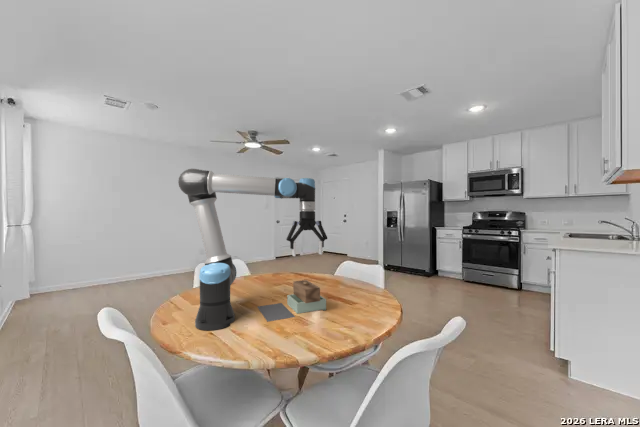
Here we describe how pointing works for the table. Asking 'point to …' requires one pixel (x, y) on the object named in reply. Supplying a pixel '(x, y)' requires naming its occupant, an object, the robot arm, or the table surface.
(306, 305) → the dish
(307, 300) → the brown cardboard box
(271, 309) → the mat
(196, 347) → the table surface
